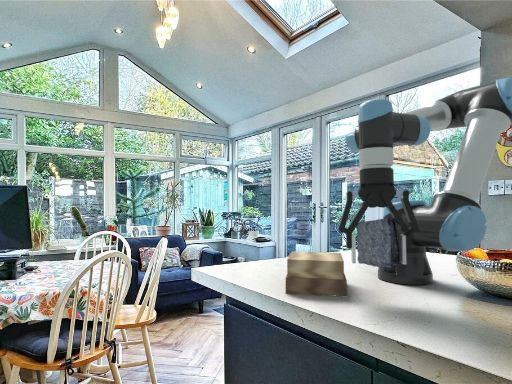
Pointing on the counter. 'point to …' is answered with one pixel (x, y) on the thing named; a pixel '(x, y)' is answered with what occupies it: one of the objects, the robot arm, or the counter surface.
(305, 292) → the tower base
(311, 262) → the tower top
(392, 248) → the stone
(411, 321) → the counter surface
